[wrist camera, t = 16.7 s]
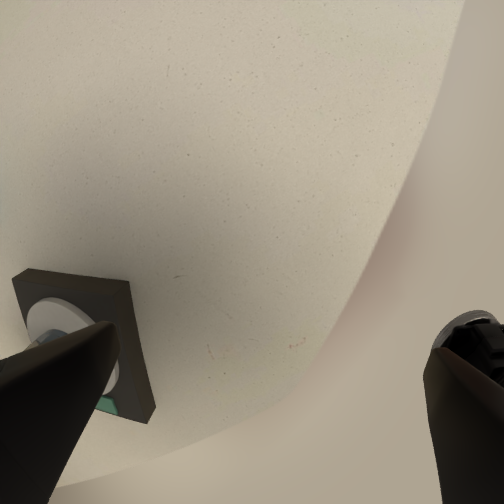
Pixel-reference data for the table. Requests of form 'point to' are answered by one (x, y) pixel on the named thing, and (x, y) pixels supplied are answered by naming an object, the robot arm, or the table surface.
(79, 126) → the table surface
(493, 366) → the robot arm
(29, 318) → the scale
